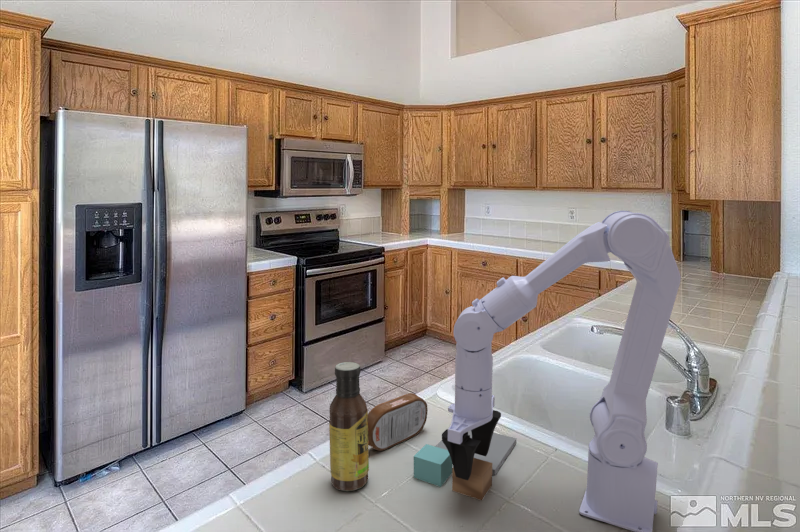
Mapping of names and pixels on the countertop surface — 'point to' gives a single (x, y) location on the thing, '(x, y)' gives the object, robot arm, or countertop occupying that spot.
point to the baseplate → (493, 450)
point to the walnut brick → (474, 480)
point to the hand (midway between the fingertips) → (471, 465)
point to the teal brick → (432, 465)
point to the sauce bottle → (348, 430)
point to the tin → (396, 421)
